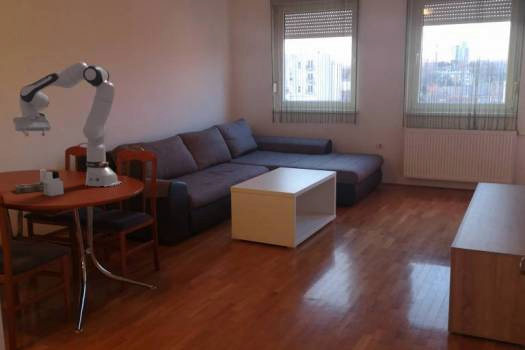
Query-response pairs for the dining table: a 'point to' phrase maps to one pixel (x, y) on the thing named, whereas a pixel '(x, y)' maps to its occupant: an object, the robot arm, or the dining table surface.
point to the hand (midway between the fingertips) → (35, 135)
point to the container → (53, 184)
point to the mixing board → (29, 187)
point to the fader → (43, 176)
